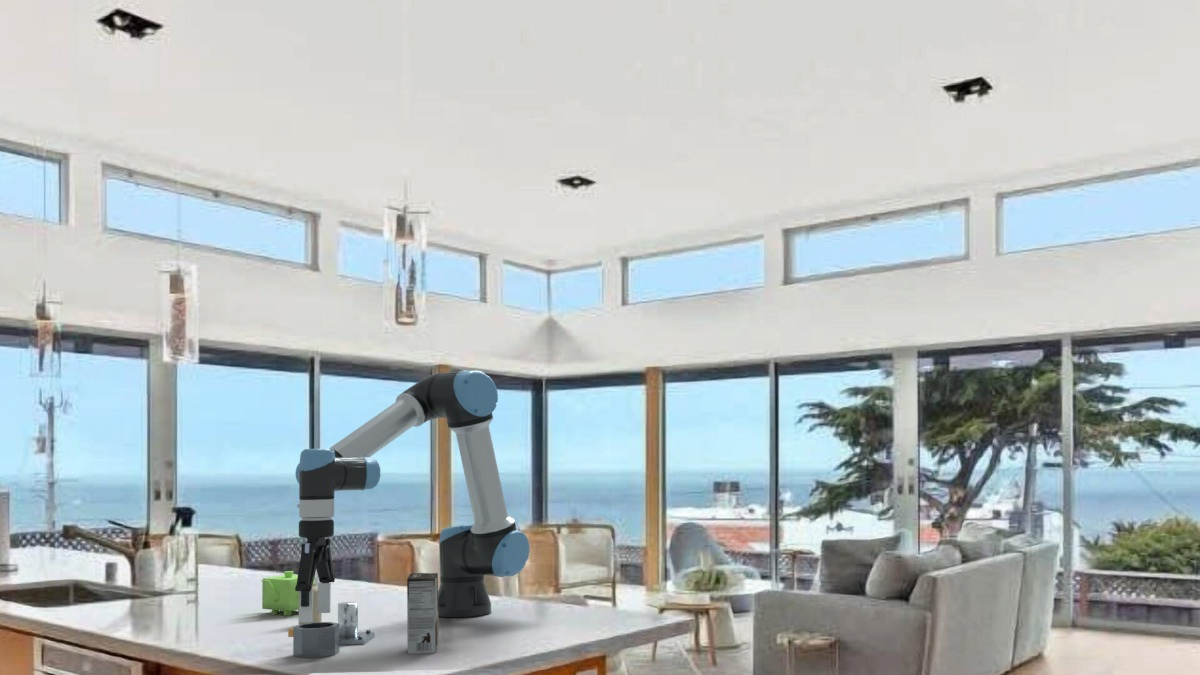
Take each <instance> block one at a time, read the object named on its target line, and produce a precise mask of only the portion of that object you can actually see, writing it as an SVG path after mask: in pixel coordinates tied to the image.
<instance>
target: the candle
mask: <svg viewBox="0 0 1200 675" xmlns="http://www.w3.org/2000/svg"><path fill="white" fill-rule="evenodd" d="M311 591H313V622H322V613H318V585H316V584H313V585H312V589H311ZM299 597H300V591H299ZM313 622H299V621H298V625H299V624H306V623H313Z"/></svg>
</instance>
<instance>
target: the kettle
mask: <svg viewBox="0 0 1200 675" xmlns="http://www.w3.org/2000/svg"><path fill="white" fill-rule="evenodd" d="M297 578H298V574H294V571H293V570H287V571H283V574H282V575H277V576H275V575H274V576H270V577H263V578H262V580H260V582H262V585H261V586H262V589H261V590H262V594H261V595H262V597H261V599H262V601H261V602H262V604H261V607H262V610H270V613H269V615H278V614H279V612H280V611H281V612H283V616H284V617H286V616H293V615H292V614H293V612H294V611H297V612H299V591H295V587H296V584H297ZM315 580H316V576H314V581H313V584H315V582H316V581H315ZM315 585H316V584H315Z"/></svg>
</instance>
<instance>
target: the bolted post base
mask: <svg viewBox="0 0 1200 675" xmlns="http://www.w3.org/2000/svg"><path fill="white" fill-rule="evenodd" d="M358 604H359V602H357V601H343V602H339V603H337V623H338V624H339V646H341V645H342V646H343V645H344V646H346V645H347V646H349V645H366V644H367V643H368V642H369V641H370V640H372V639H374V637H375V631H371V630H370V629H367V630H365V631H360V632H359V605H358Z"/></svg>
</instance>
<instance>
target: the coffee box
mask: <svg viewBox="0 0 1200 675" xmlns="http://www.w3.org/2000/svg"><path fill="white" fill-rule="evenodd" d="M438 574H439V573H438V572H434V573H433V572H432V573H429V572H419V573H418V572H416V573H415V572H414V573H409V575H408V577H407V579H406V587H407V588H406V590H407V592H406V595H407V598H406V600H407V602H406V605H407V606H406V607H407V611H406V612H407V617H406V619H407V624H406V626H407V628H406V629H407V637H406V638H407V654H408V655H419V654H420V655H421V654H422V655H424V654H437V652H438V648H439V645H440V638H439V635H440V634H439V632H440V631H439V628H440V627H439V616H438V591H439V585H438V584H439V579H438V578H439V575H438Z"/></svg>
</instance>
